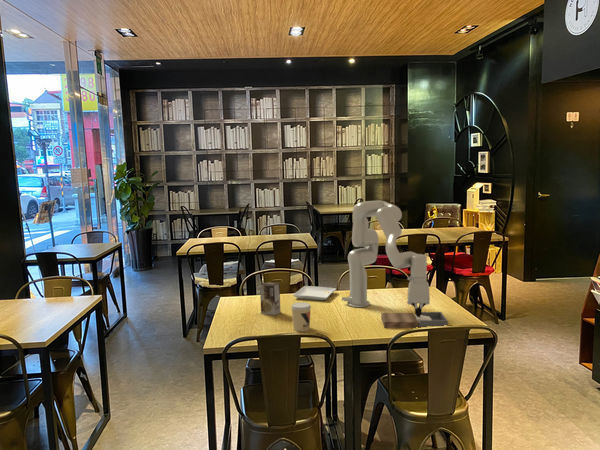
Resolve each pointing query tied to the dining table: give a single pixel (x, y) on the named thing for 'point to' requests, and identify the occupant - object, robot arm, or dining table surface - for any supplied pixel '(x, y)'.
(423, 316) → the tile
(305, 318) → the coffee cup
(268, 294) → the coffee box
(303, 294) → the salad plate
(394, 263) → the robot arm
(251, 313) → the dining table surface
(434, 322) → the tray
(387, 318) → the flat wooden board
